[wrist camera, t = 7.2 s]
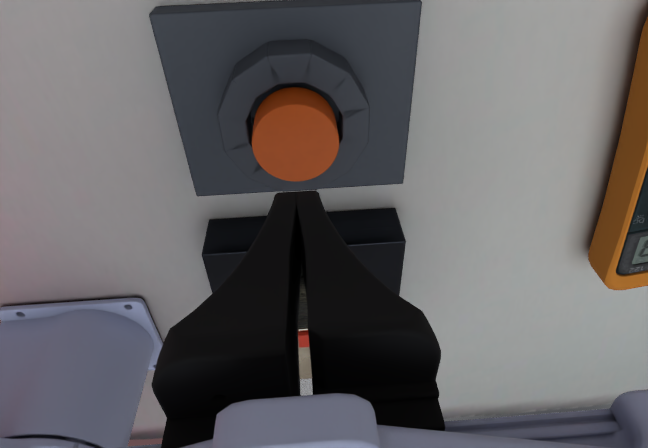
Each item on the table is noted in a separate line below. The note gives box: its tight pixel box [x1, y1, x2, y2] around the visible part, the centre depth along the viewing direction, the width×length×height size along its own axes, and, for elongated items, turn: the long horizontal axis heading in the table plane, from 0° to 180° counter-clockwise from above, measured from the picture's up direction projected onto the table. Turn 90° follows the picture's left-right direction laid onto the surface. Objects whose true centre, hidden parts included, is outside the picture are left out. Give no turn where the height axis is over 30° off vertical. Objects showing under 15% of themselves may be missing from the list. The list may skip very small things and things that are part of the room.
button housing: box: [149, 0, 422, 196], centre depth 20 cm, size 11×9×3 cm
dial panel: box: [202, 208, 406, 296], centre depth 28 cm, size 11×9×3 cm
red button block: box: [298, 278, 312, 379], centre depth 25 cm, size 5×2×4 cm, turn 1°
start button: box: [252, 87, 339, 181], centre depth 19 cm, size 4×4×2 cm
